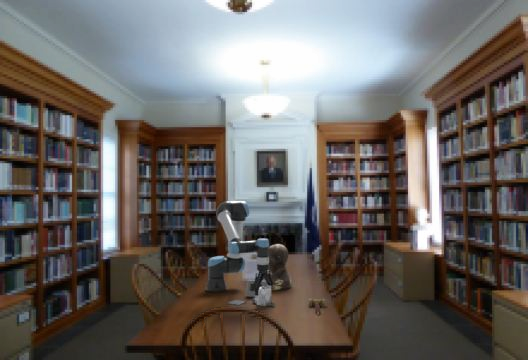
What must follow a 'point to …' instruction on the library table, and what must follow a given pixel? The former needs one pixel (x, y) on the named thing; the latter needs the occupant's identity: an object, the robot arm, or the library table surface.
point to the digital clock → (249, 289)
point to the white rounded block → (264, 296)
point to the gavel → (317, 304)
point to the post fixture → (268, 302)
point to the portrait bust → (279, 267)
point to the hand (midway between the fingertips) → (263, 298)
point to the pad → (236, 302)
